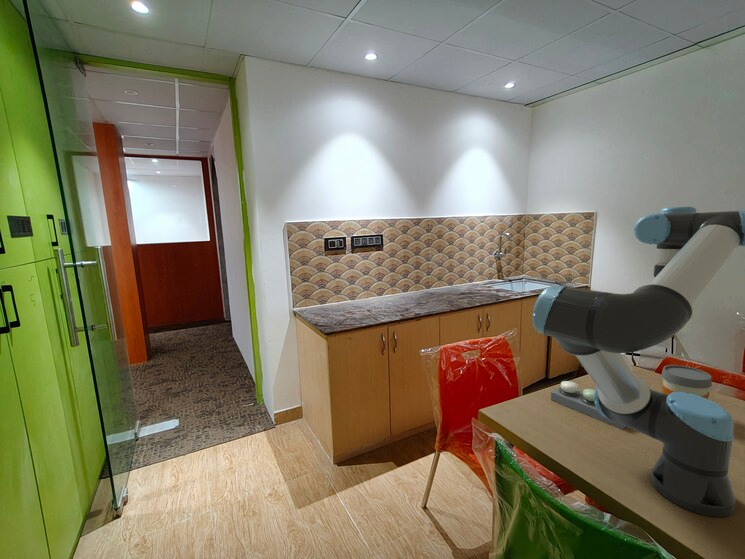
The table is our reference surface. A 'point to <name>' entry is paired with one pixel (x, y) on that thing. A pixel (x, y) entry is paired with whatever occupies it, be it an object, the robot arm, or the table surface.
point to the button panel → (580, 405)
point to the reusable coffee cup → (685, 380)
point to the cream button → (569, 387)
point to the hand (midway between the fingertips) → (663, 346)
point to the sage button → (589, 394)
